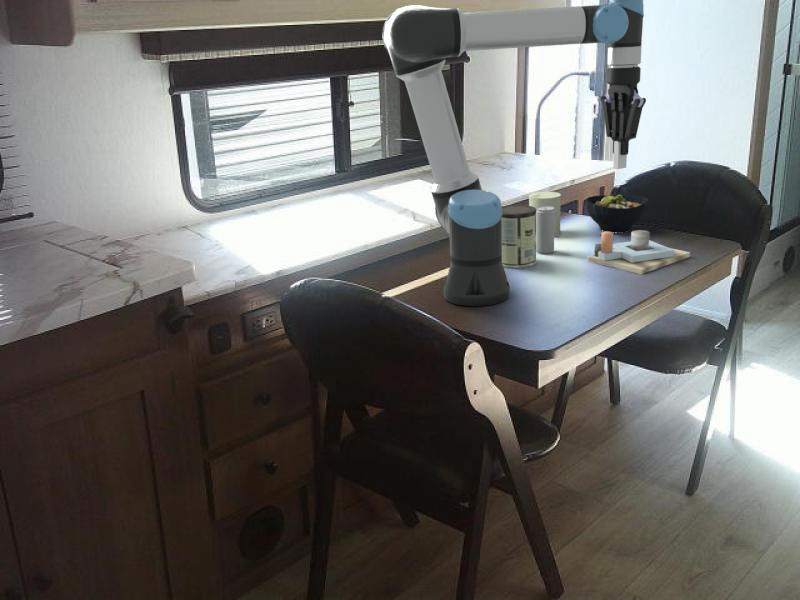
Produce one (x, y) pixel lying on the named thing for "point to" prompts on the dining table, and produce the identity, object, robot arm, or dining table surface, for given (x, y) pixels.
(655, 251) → the flange plate
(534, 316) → the dining table surface
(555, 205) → the can
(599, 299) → the dining table surface
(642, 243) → the post base
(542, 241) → the beverage can
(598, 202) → the bowl
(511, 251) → the coffee can
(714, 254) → the dining table surface
